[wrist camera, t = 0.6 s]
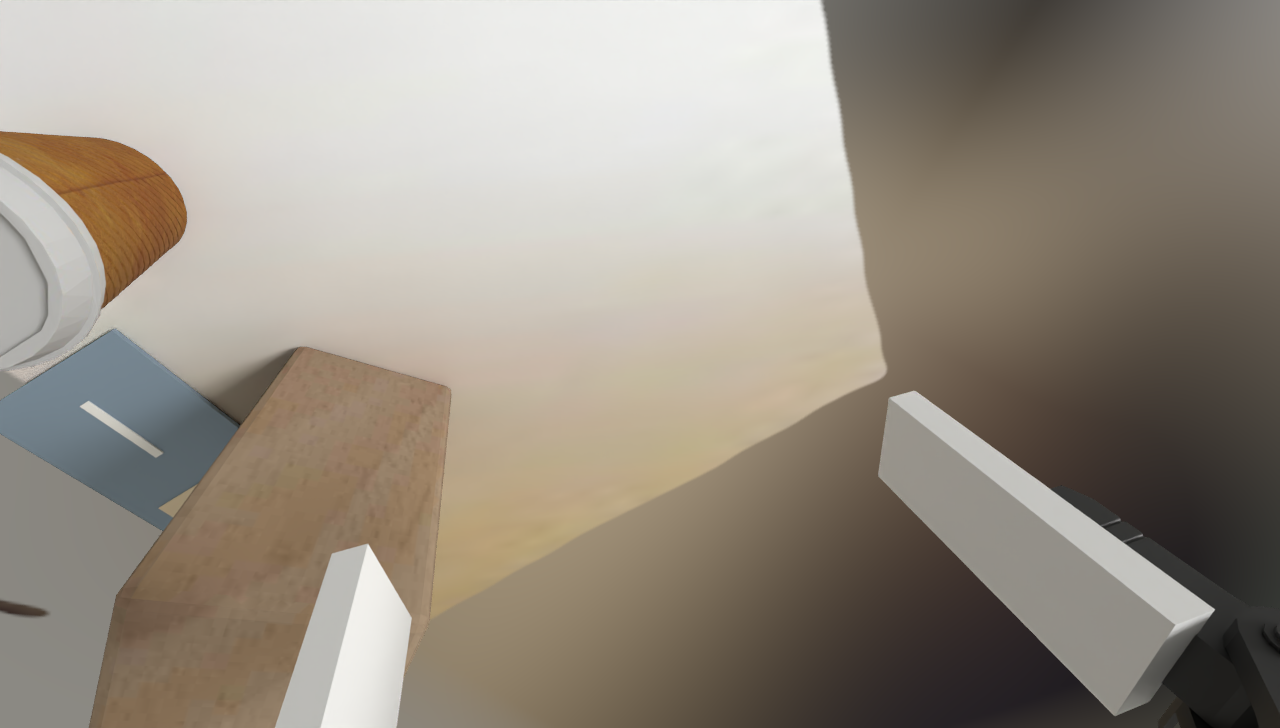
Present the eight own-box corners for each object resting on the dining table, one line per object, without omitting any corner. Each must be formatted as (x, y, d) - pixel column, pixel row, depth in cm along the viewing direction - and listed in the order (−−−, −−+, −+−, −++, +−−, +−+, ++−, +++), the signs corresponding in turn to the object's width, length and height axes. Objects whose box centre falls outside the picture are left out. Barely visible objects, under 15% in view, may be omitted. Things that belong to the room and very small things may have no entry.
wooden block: (263, 463, 36) (70, 786, 19) (298, 341, 33) (109, 597, 16) (410, 491, 41) (360, 777, 24) (454, 386, 38) (432, 625, 21)
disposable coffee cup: (53, 289, 29) (-187, 399, 19) (-49, 99, 25) (-435, 108, 14) (246, 279, 31) (126, 373, 21) (185, 103, 27) (-6, 112, 17)
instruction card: (-23, 414, 31) (-29, 418, 31) (114, 328, 31) (110, 331, 30) (235, 570, 40) (233, 574, 40) (342, 505, 40) (341, 508, 40)
